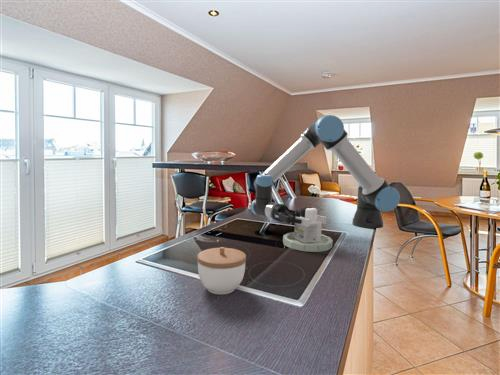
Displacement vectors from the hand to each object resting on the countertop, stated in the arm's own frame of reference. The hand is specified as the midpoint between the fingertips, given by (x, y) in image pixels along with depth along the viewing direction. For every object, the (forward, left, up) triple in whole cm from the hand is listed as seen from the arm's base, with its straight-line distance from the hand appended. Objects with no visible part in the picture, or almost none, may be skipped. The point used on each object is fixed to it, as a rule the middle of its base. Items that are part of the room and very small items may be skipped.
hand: (317, 221), depth 118 cm
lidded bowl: (+48, +19, -10) cm, 52 cm away
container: (+1, -5, -8) cm, 9 cm away
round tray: (+1, -4, -10) cm, 11 cm away
